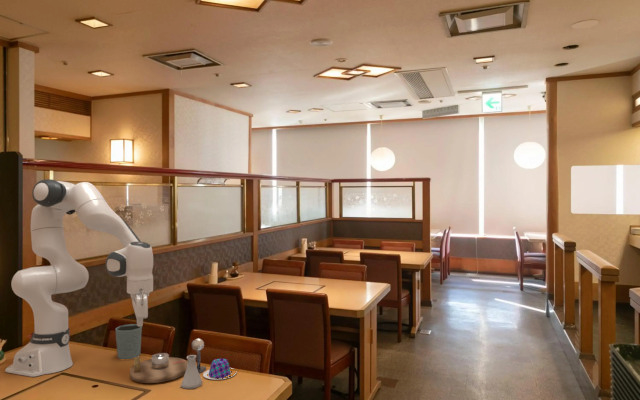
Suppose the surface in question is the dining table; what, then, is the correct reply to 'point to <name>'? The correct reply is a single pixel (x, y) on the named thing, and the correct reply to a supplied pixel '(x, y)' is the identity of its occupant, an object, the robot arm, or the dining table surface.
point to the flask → (191, 374)
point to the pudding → (218, 369)
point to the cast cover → (160, 361)
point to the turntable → (149, 375)
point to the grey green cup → (128, 341)
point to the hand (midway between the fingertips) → (139, 325)
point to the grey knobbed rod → (198, 352)
